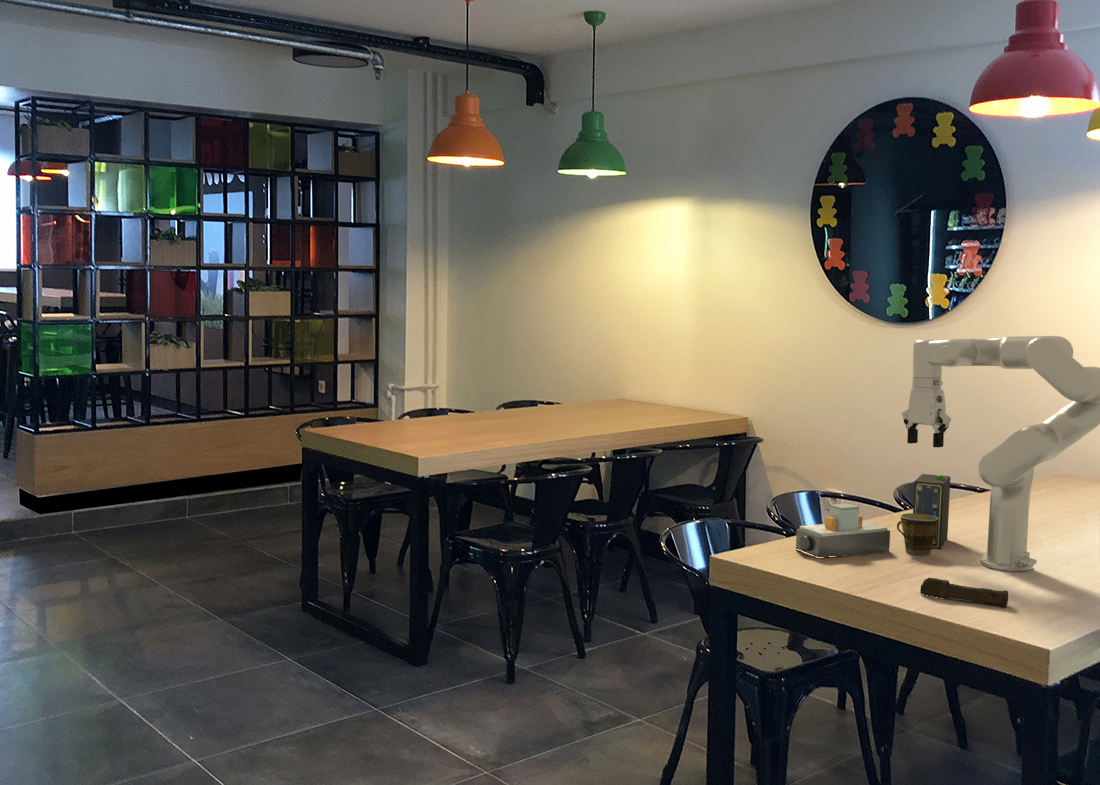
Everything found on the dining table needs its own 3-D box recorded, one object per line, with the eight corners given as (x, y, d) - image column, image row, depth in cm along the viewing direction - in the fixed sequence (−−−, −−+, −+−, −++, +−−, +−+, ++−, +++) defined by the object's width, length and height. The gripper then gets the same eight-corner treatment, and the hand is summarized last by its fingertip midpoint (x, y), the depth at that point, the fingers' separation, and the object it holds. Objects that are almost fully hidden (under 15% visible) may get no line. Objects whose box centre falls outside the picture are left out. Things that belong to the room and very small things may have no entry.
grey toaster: (889, 551, 286) (890, 517, 285) (814, 559, 276) (815, 523, 276) (865, 543, 295) (866, 510, 294) (792, 550, 286) (793, 515, 285)
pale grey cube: (858, 528, 284) (859, 506, 284) (840, 529, 282) (841, 508, 282) (846, 524, 289) (847, 503, 288) (828, 525, 287) (829, 504, 286)
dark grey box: (910, 547, 292) (913, 477, 290) (919, 535, 308) (922, 469, 306) (940, 551, 288) (943, 480, 286) (948, 538, 304) (951, 471, 302)
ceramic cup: (917, 546, 293) (919, 512, 292) (945, 554, 284) (946, 519, 283) (883, 550, 287) (884, 515, 286) (909, 559, 278) (911, 522, 277)
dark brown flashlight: (1008, 606, 236) (1009, 586, 236) (1006, 610, 233) (1007, 590, 232) (922, 593, 246) (923, 574, 245) (919, 597, 242) (920, 577, 242)
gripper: (960, 385, 279) (959, 448, 280) (914, 381, 295) (912, 441, 296) (939, 386, 276) (938, 449, 277) (894, 382, 292) (892, 442, 293)
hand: (925, 445), depth 286 cm, fingers open, 9 cm apart
